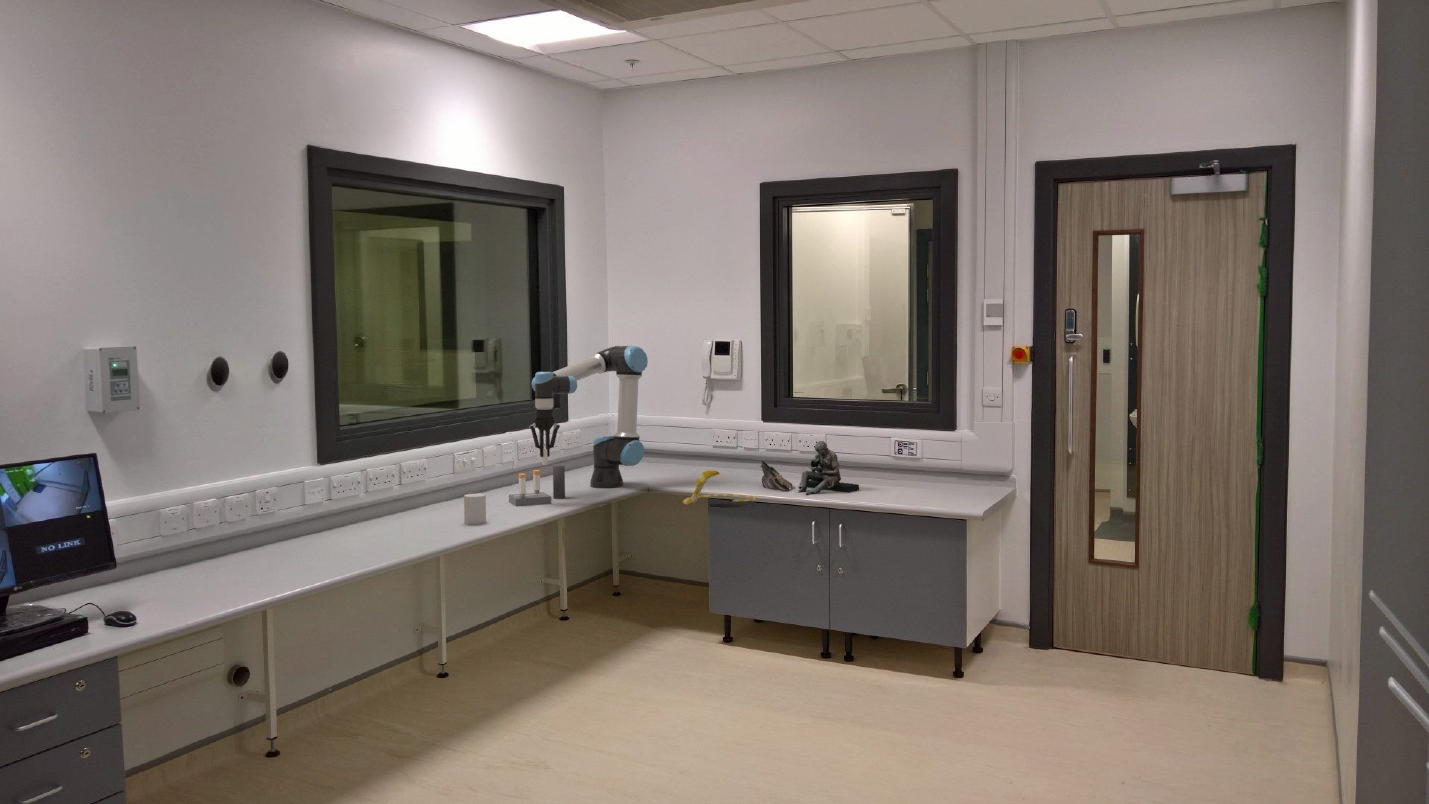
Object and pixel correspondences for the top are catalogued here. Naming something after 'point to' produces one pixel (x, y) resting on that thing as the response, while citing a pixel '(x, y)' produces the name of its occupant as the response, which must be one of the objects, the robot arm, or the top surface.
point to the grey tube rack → (530, 499)
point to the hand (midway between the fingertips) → (544, 464)
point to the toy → (699, 486)
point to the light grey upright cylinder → (474, 508)
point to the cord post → (558, 482)
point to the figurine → (824, 473)
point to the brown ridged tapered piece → (773, 478)
